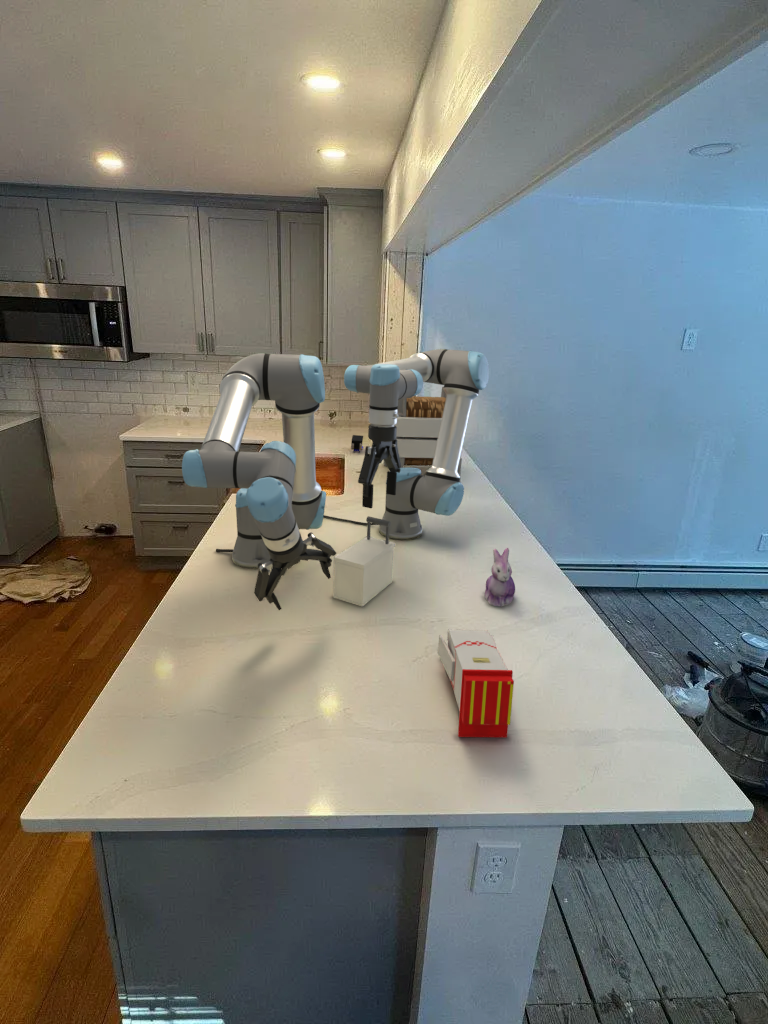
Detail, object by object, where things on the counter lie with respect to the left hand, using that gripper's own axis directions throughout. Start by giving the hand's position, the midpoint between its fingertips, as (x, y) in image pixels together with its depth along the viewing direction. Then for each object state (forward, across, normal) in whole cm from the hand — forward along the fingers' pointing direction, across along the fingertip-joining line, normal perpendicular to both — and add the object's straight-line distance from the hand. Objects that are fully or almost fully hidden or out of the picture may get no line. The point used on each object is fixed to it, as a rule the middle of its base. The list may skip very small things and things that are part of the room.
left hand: (302, 590), depth 134 cm
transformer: (+91, +91, +78) cm, 150 cm away
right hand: (+7, +32, +16) cm, 37 cm away
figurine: (+26, +46, -21) cm, 57 cm away
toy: (+3, +16, -42) cm, 45 cm away
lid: (+14, +22, +8) cm, 27 cm away
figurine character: (+109, +83, +125) cm, 186 cm away
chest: (+23, +17, +4) cm, 29 cm away
